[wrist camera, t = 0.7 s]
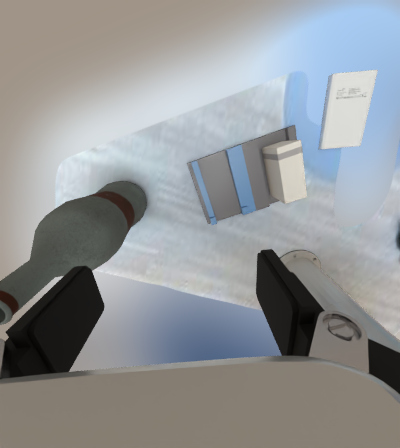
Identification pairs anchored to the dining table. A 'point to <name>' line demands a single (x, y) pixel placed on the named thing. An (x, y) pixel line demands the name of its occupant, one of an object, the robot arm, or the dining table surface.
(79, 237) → the bottle
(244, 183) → the board
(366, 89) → the external hard drive
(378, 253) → the dining table surface
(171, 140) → the dining table surface
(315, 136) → the dining table surface
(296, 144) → the block
